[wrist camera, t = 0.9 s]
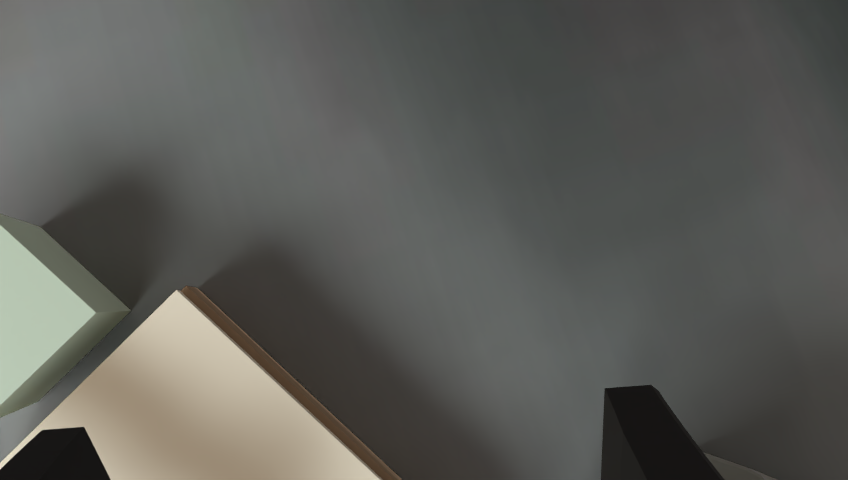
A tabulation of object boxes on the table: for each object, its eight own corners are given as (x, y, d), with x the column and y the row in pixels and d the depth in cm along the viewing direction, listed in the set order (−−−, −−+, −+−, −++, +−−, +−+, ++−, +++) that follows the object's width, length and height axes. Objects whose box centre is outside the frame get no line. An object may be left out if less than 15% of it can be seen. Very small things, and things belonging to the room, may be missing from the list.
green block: (38, 401, 24) (-23, 426, 19) (-58, 316, 23) (-145, 319, 19) (131, 310, 25) (96, 312, 20) (40, 226, 24) (-19, 207, 19)
